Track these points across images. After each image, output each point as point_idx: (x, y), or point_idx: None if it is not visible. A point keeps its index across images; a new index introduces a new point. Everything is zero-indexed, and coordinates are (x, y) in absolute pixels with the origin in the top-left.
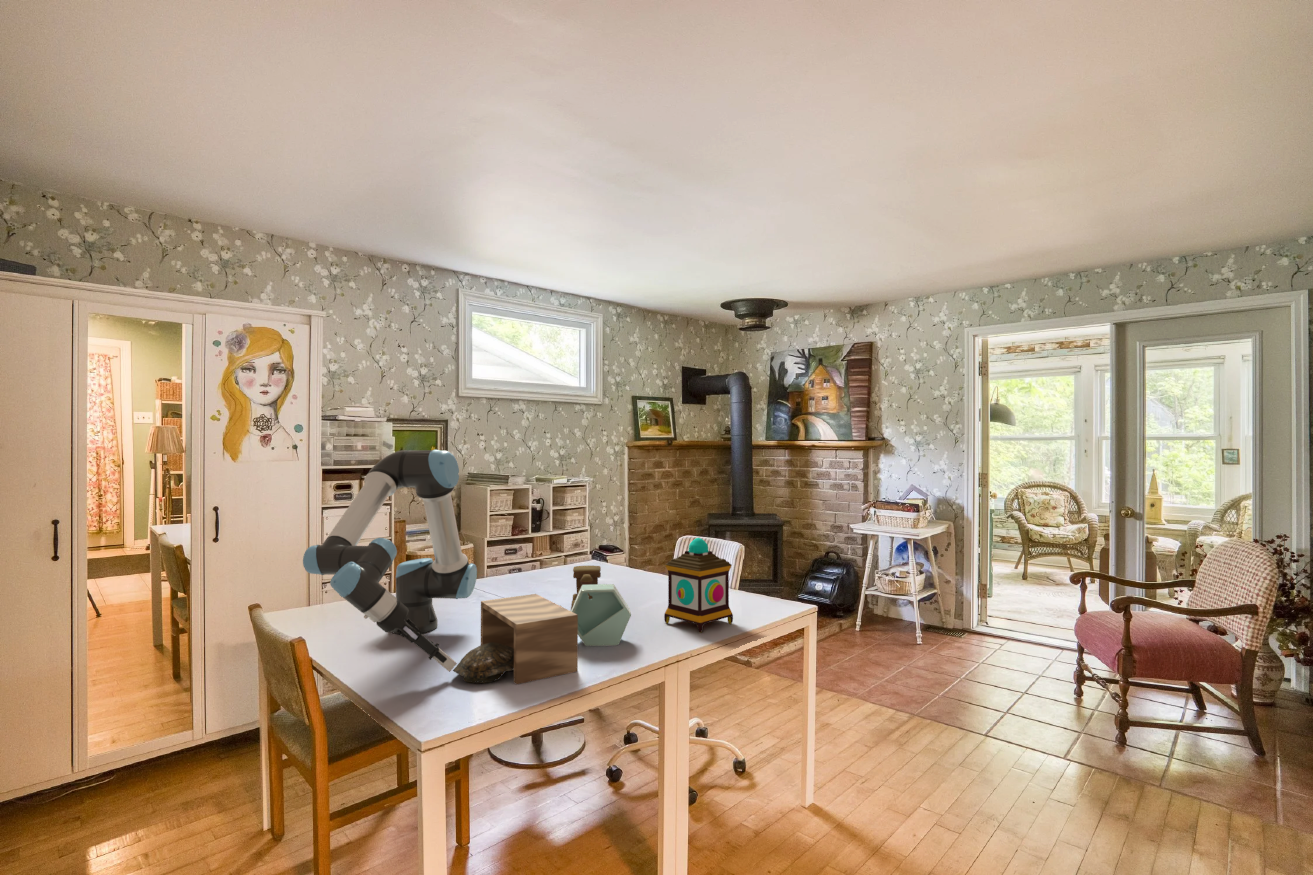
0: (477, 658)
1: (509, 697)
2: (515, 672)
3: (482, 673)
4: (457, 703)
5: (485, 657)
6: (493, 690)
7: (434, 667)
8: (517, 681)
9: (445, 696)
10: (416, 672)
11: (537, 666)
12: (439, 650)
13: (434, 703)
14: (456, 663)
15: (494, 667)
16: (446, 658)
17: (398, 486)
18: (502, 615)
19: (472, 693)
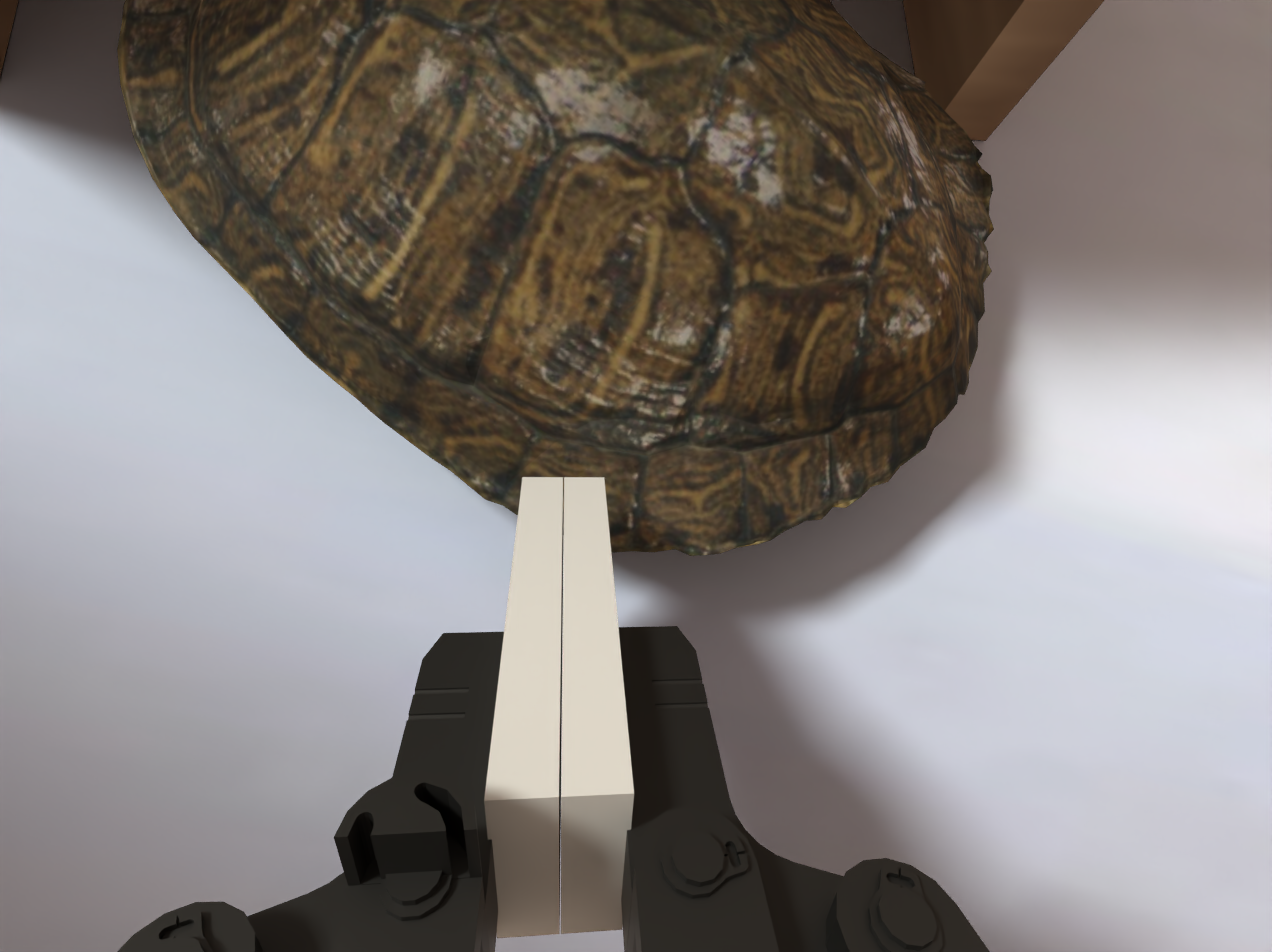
0: (857, 239)
1: (1224, 276)
2: (1026, 61)
3: (966, 312)
4: (1223, 673)
5: (886, 149)
6: (1040, 325)
7: (28, 652)
8: (998, 116)
9: (1022, 738)
10: (55, 913)
11: None
12: (632, 786)
13: (1159, 880)
14: (602, 484)
15: (935, 164)
16: (685, 640)
17: None
18: None
19: (1041, 493)
